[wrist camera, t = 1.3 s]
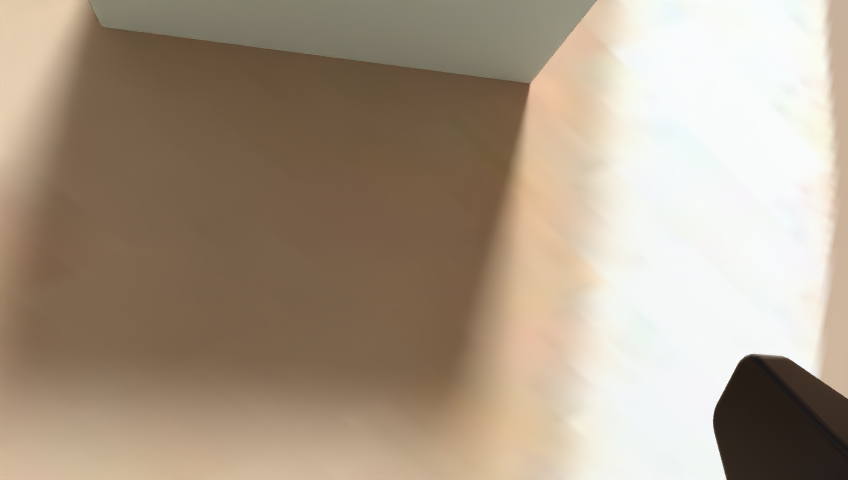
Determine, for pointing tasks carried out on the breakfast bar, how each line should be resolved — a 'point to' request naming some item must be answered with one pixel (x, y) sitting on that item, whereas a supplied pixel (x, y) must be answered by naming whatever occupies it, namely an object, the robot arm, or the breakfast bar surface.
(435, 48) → the grey-green slab
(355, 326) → the breakfast bar surface
